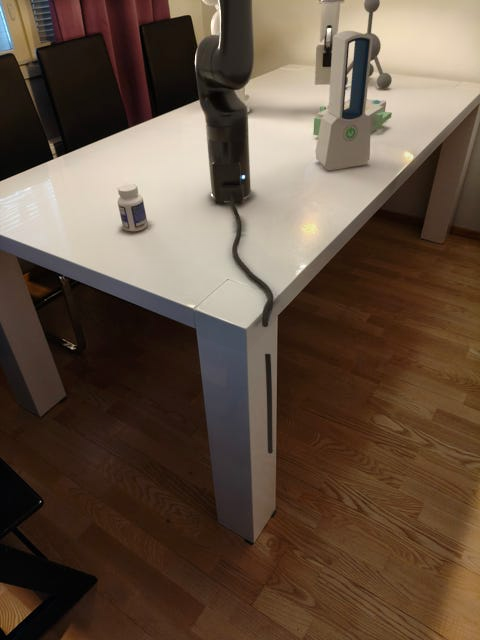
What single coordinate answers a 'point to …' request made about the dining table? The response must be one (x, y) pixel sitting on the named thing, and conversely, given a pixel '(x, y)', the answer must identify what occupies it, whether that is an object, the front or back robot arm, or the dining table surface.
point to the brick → (321, 68)
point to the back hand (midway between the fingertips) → (328, 64)
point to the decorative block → (373, 111)
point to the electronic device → (352, 123)
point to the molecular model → (374, 48)
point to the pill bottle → (131, 208)
